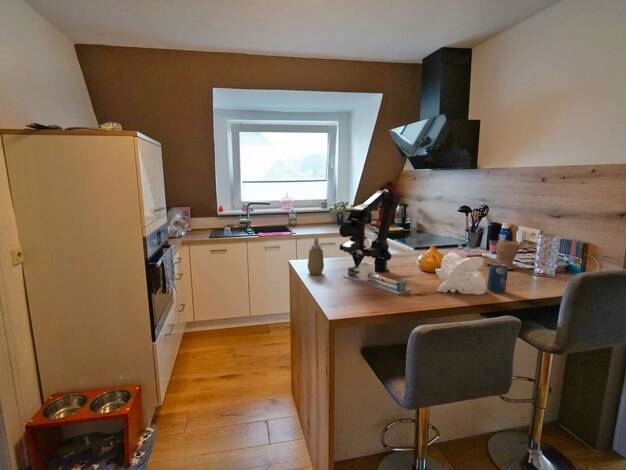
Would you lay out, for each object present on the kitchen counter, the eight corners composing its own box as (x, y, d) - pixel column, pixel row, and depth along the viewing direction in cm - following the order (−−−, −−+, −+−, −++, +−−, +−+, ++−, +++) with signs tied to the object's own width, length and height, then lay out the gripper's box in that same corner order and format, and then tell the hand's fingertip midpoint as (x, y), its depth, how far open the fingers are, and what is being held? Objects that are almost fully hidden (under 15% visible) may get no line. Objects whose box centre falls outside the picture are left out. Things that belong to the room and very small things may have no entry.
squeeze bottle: (322, 276, 167) (323, 239, 164) (305, 275, 169) (306, 238, 165) (325, 271, 175) (326, 236, 172) (309, 270, 176) (309, 235, 173)
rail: (347, 276, 168) (348, 267, 167) (354, 274, 170) (354, 265, 170) (399, 293, 146) (400, 282, 145) (405, 291, 148) (406, 280, 148)
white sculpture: (506, 274, 143) (471, 250, 138) (480, 316, 143) (444, 293, 138) (475, 265, 161) (444, 243, 156) (453, 302, 161) (420, 281, 156)
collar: (359, 279, 161) (359, 264, 160) (367, 276, 165) (368, 261, 164) (365, 281, 158) (366, 265, 157) (374, 278, 162) (374, 263, 161)
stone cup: (521, 269, 186) (525, 241, 183) (507, 271, 181) (510, 243, 178) (495, 262, 199) (498, 236, 197) (481, 264, 194) (484, 238, 191)
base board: (343, 277, 167) (343, 275, 166) (356, 273, 172) (356, 272, 172) (397, 294, 144) (397, 293, 144) (410, 290, 149) (410, 288, 149)
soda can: (504, 295, 146) (507, 267, 144) (486, 291, 149) (489, 264, 147) (505, 290, 152) (508, 263, 149) (487, 287, 155) (490, 261, 153)
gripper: (331, 233, 164) (331, 265, 167) (361, 239, 150) (360, 275, 153) (348, 231, 172) (347, 262, 174) (378, 237, 158) (376, 270, 160)
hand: (357, 267), depth 165 cm, fingers closed
